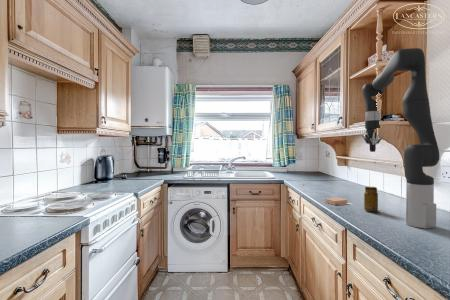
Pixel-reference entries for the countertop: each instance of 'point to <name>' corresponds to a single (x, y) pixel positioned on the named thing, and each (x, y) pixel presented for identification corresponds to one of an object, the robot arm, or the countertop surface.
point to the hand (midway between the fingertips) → (372, 151)
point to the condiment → (371, 200)
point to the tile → (336, 201)
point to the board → (345, 204)
